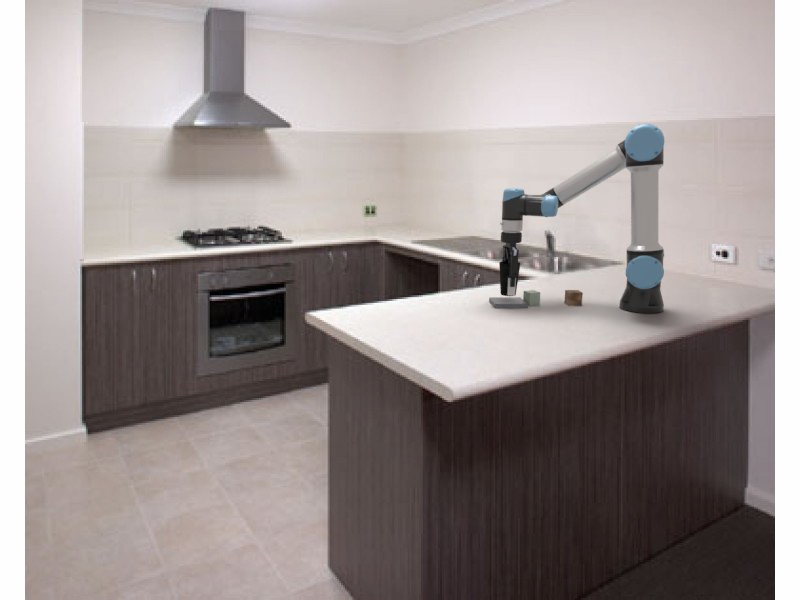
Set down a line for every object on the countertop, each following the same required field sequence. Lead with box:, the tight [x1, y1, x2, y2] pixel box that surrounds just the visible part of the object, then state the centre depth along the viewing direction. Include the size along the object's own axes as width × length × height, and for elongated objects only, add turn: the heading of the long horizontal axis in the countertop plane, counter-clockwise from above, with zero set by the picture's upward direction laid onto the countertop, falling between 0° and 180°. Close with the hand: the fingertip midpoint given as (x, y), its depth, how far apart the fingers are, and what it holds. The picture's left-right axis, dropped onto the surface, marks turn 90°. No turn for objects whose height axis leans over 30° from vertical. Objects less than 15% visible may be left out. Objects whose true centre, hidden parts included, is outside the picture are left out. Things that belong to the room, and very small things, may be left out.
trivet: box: [488, 296, 529, 309], centre depth 237 cm, size 12×11×2 cm
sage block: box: [522, 289, 541, 307], centre depth 237 cm, size 4×4×5 cm
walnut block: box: [563, 289, 583, 307], centre depth 238 cm, size 5×5×5 cm
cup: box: [498, 261, 521, 297], centre depth 235 cm, size 8×8×12 cm
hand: (508, 292), depth 236 cm, fingers closed on cup, 8 cm apart
